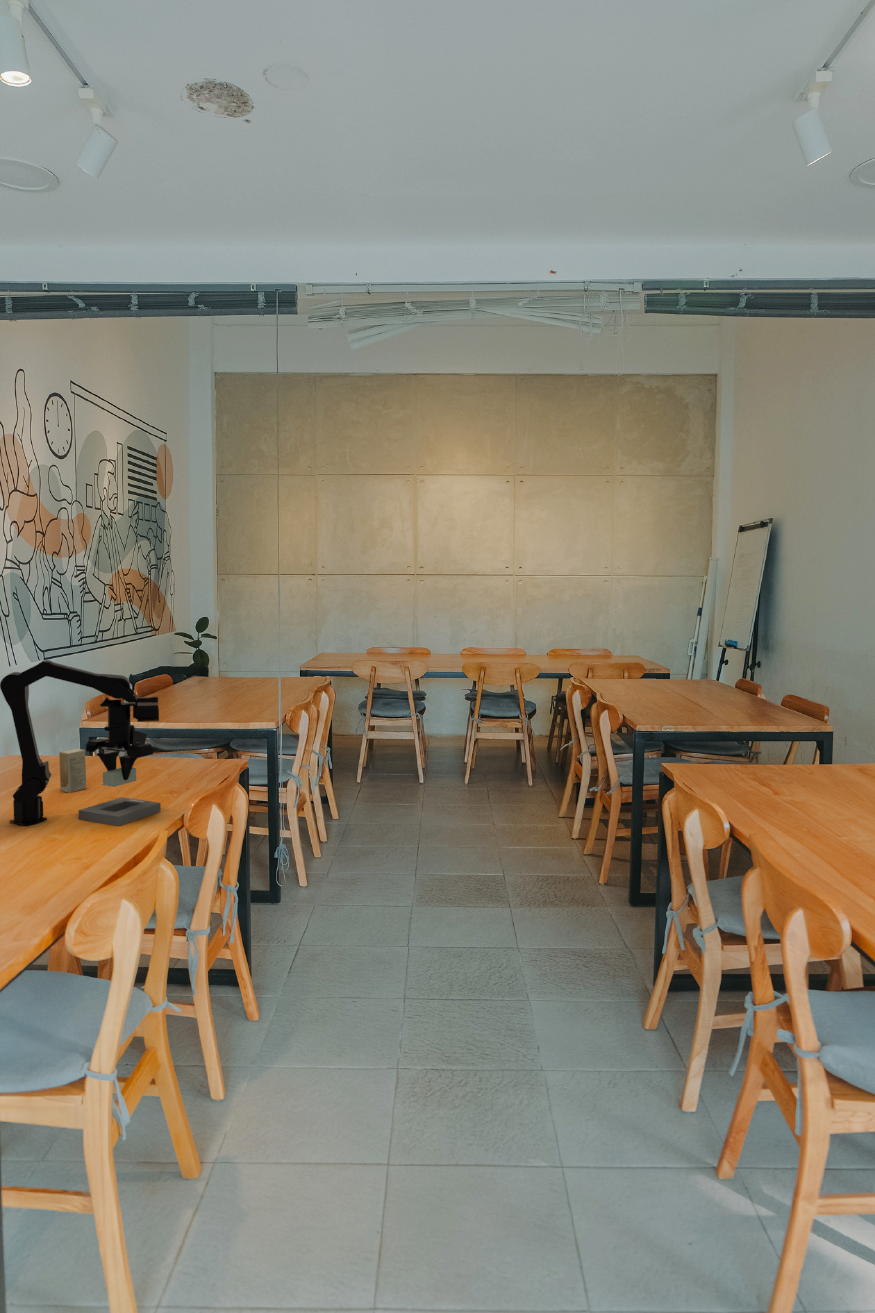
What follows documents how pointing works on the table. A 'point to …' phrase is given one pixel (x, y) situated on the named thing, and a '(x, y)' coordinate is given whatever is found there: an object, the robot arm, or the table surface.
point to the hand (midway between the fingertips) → (119, 779)
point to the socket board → (119, 811)
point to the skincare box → (72, 770)
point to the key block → (117, 777)
